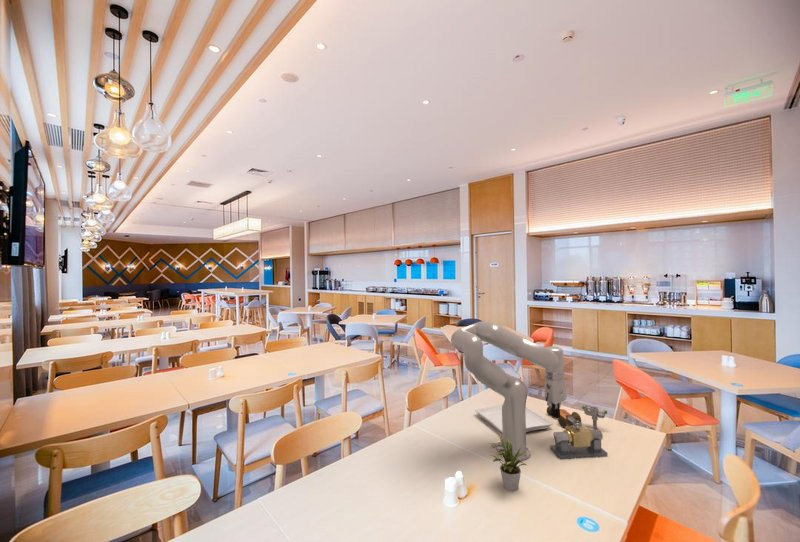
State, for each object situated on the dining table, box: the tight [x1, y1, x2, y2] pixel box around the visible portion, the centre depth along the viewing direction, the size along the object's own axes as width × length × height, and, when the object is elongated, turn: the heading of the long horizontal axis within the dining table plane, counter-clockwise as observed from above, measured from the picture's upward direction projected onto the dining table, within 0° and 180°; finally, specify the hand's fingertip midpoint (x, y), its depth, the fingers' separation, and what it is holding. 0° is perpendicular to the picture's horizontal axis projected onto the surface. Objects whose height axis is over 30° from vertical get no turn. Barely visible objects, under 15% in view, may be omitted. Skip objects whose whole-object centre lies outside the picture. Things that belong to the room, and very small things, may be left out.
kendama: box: [546, 406, 582, 429], centre depth 169 cm, size 6×10×20 cm
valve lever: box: [560, 408, 583, 427], centre depth 147 cm, size 14×3×2 cm, turn 4°
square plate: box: [474, 404, 554, 434], centre depth 170 cm, size 27×27×4 cm
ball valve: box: [549, 424, 608, 460], centre depth 141 cm, size 20×8×11 cm, turn 94°
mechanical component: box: [581, 404, 608, 430], centre depth 162 cm, size 3×10×10 cm, turn 53°
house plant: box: [488, 433, 528, 492], centre depth 122 cm, size 14×14×16 cm
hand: (555, 416), depth 149 cm, fingers closed
